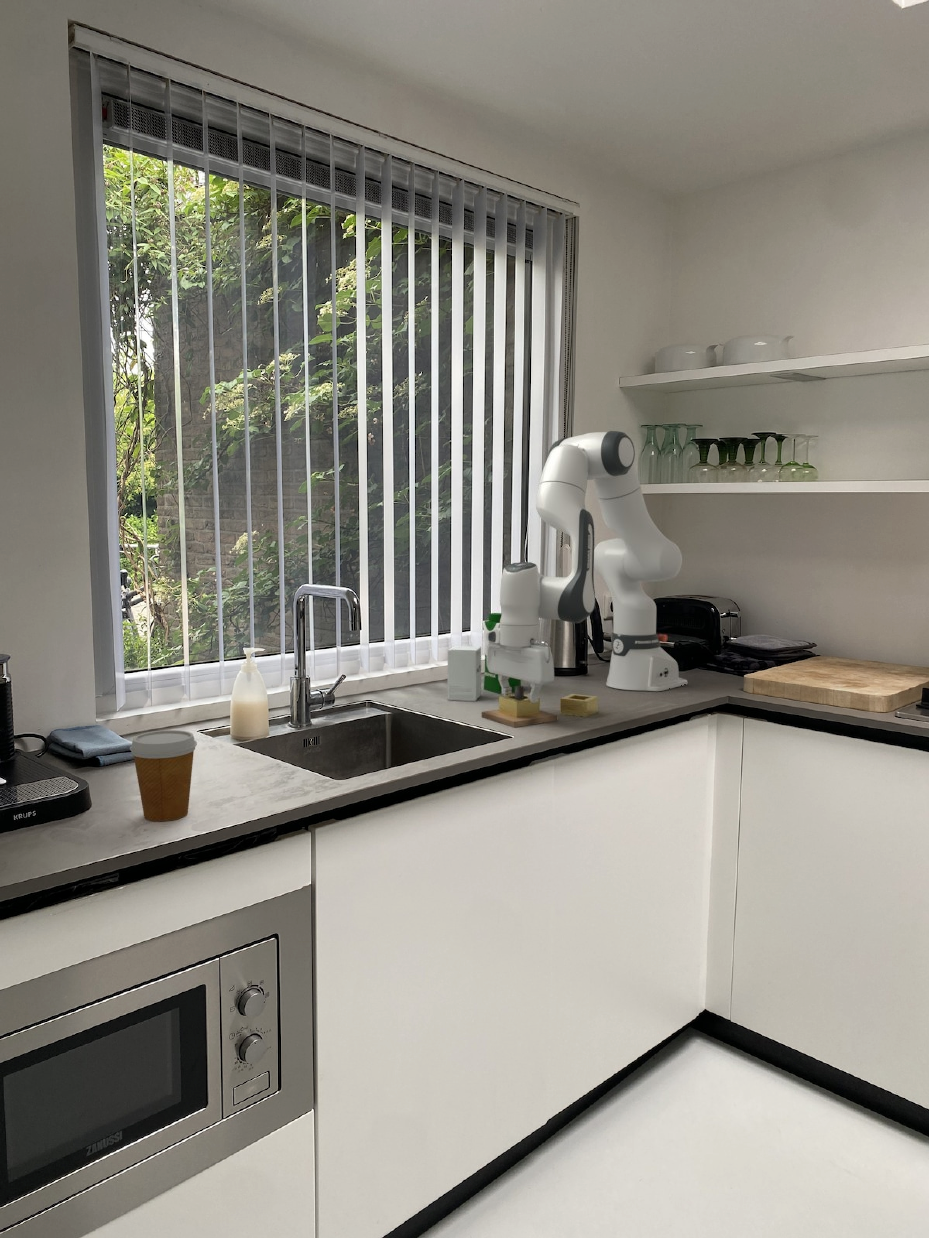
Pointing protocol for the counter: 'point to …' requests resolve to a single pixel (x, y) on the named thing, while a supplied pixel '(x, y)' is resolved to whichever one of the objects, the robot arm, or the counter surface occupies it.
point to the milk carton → (490, 678)
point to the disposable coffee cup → (164, 772)
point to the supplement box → (464, 673)
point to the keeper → (520, 721)
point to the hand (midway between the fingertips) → (519, 698)
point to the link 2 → (579, 705)
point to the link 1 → (518, 706)
